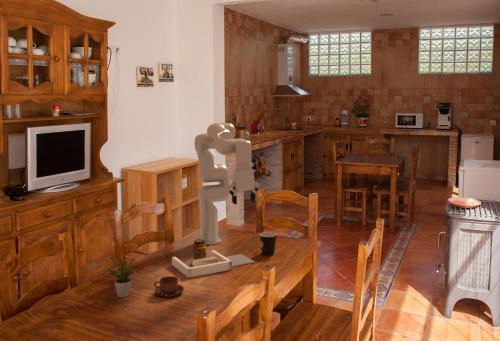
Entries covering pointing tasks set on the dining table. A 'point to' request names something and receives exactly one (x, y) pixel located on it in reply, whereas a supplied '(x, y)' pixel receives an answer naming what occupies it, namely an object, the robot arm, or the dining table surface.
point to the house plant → (122, 277)
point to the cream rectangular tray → (204, 266)
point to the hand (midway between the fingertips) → (243, 202)
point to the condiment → (199, 250)
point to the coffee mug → (268, 243)
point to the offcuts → (204, 261)
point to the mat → (239, 260)
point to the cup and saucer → (168, 287)
